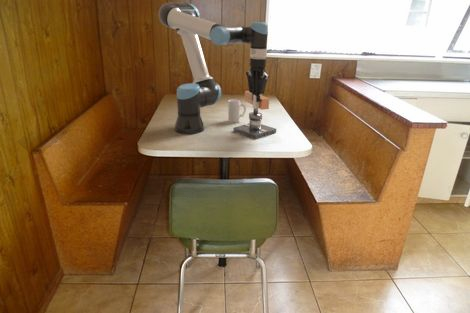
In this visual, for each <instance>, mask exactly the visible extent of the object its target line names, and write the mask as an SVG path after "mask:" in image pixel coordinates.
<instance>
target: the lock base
mask: <svg viewBox="0 0 470 313" xmlns="http://www.w3.org/2000/svg"><path fill="white" fill-rule="evenodd" d="M232 128H233V132H235V133H236V134H237V133H238V134H240V135H243V136H246V137H248V138H250V139H254V140H256V139H257V140H258V139H261V138H262V137H266V136H269V135H273V134H276V133H277V128H276V127H275V128H274V127H272V126H269V125H265V124H263V123H262V119H261V120H250V119H249V123H244V124H243V125H238V126H234V127H232Z"/></svg>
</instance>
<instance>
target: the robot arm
mask: <svg viewBox="0 0 470 313" xmlns="http://www.w3.org/2000/svg"><path fill="white" fill-rule="evenodd" d="M200 16H201V14H200V11H199V10H198V8H197V6H195V5H194V4H192V3H188V2H172V1H171V2H165V3H164V4H162V5H161V6H160V7H159V10H158V19H159V21H160V23H161V24H162V25H163V26H165V27H167V28H169V29H173V30H176V34H178V35H180V37H181V39H182V40H181V41H182V43H183V47H184V50H185V54H186V58H187V61H188V63H189V68H190V70H191V74H192V77H193V82H192V83H191V82H190V83H183V84H181V85H179V86H178V87H177V88H176V104H177V117H176V121H175V124H174V130H175V132H177V133H180V134H184V135H185V134H186V135H192V134H199V133H201V132H203V131H204V130H205V126H204V122H203V119H202V116H201V109H202V108H204V107H208V106H212V105H215V104H218V102H220V99H221V97H222V88H221V86H220V85H219V84H218V83H217V82H215V80H214V77H212V76H211V75H210V73H209V69H208V66H207V63H206V60H205V56H204V52H203V48H202V45H201V42H200V39H199V38H200V37H201V38H204V39H207V40H209V41H211V42H212V43H213V44H214V45H217V46H224V45H236V44H247V45H248V44H249V45H250V52H249V54H250V55H249V57H250V59H249V67H250V69H249V70H248V71H246V72H245V74H246V77H247V84H248V91H249V92H250V93H252V101H253V105H252V108H253V110H254V109H256V108H258V109H259V102H260V95H264V94H265V90H266V87H267V82H268V79H269V77H270V74H267V73H266V66H267V52H268V48H267V46H268V35H269V28H268V26H269V25H268V23H267V22H260V21H259V22H258V21H254V22H253V21H252V22H251V25H250V26H245V25H229V26H227V25H224V24H223V25H222V24H219V23H217V22H213V21H211V20H207V19H204V18H201V17H200Z"/></svg>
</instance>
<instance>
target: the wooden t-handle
mask: <svg viewBox="0 0 470 313" xmlns="http://www.w3.org/2000/svg"><path fill="white" fill-rule="evenodd" d="M244 101H245V102H247V103H248V104H250V105H252V106H253V101H252V93H250V92H249V90H245V91H244ZM269 106H270V98H268V97H266V96H264V95H263V94H261V95H260V102H259V108H256V109H254V108H253V112H249V113H248V119H249V121H250V120H261V121H262V120H263V113H261V112H259V110H262V111H263V110H269V109H270V108H269Z"/></svg>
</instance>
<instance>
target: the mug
mask: <svg viewBox="0 0 470 313" xmlns="http://www.w3.org/2000/svg"><path fill="white" fill-rule="evenodd" d="M227 101H228V102H227V103H228V104H227V105H228V106H227V107H228V122H229V123H232V124H233V123H239V122H240V118H241V117H242V118H243V117H244V116H245V113H246V109H247V108H246V105H245V102H242V103H241V100H240V99H235V98H234V99H233V98H232V99H229V100H227ZM241 106H242V107H243V112H242V113H240V110H241Z"/></svg>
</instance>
